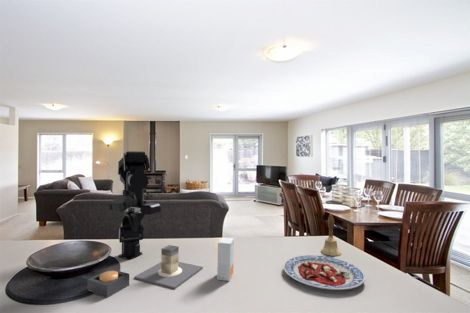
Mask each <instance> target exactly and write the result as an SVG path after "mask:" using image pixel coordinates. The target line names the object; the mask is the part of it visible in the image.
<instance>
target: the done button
mask: <svg viewBox="0 0 470 313" xmlns="http://www.w3.org/2000/svg"><path fill="white" fill-rule="evenodd" d="M103 272H104V273H103ZM103 272H101V273H102V274H101V273H100V274H101V275H100V281H102V282H106V283H109V282H111V281H113V280H115V279H117V278H118V272H116V271H108V272H105V271H103Z"/></svg>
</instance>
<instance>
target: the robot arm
mask: <svg viewBox="0 0 470 313" xmlns="http://www.w3.org/2000/svg"><path fill="white" fill-rule="evenodd" d="M150 168H151V165H150V158H149V157H148V155H147V154H146V152H145V151H139V150H138V151H135V150H133V151H131V150H130V151H129V150H127V151H125V152H124V153H123V156H122V158H121V159H120V160H119V161H118V164H117V175H118V176H119V180H120V182H121V183H122V185H123V192H122V195H121V196H119V197H117V198H115V199H113V200H111V202H110V203H109V210H110V211H113V212H120V213H121V214H122V215H123V214H124V217H122V218H123V219H122V220H121V224H120V226H119V229H118V241H119V242H118V243H120V244H121V253H120V254H118V256H117V257H119V258H123V259H128V260H132V259H134V258H136V257H139V256H140V255H143V251H142V252H141V243H140V241H142V240H143V239H145V238H144V237H145V236H144V234H145V227H144V226H143V224H142V221H143V219H144V217H145V215H153V214H156V213H161V212H162V211H161V210H162V207H161V204H160V203H154V202H149V203H147V200H144V198H145V196H144V195H145V194H144V193H147V189H146V188H147V186H148V184H149V178H148V176H147V175H146V174H145V172H149V170H150Z"/></svg>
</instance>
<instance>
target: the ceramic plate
mask: <svg viewBox="0 0 470 313" xmlns="http://www.w3.org/2000/svg"><path fill="white" fill-rule="evenodd" d="M283 263H284V264H283V270H284V272H285V273H286V274H287V276H289V277H290V278H291V279H293V280H295V281H297V282H299V283H300V284H304V285H306V286H310V287H313V288H319V289H324V290H334V291H342V290H351V289H355V288H357V287H360V286H362V285H363V284H364V282H365V278H366V277H365V274H364V272H363V271H362V270H361V269H360V268H358V267H356V266H355V265H353V264H351V263H349V262H347V261H345V260H342V259H338V258H334V257H331V256H324V255H315V254H313V255H310V254H308V255H307V254H306V255H298V256H294V257H291V258H288V259H287V260H286V261H285V262H283Z"/></svg>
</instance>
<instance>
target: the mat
mask: <svg viewBox="0 0 470 313" xmlns="http://www.w3.org/2000/svg"><path fill="white" fill-rule="evenodd" d="M203 268H204V267H203V266H202V265H201V266H200V265H195V264H191V263H186V262H181V261H178V271H176V272H174V273H173V274H171V275H170V274H166V273H161V261H160V262H158V263H157V264H154V265H153V266H151V267H149V268H147V269H145V270H143V271H142V272H140V273H138V274H136V275H134V276H133V278H134V279H135V280H137V281H143V282H147V283H149V284H154V285H156V286H157V285H158V286H162V287H166V288H170V289H173V290H176V289H177V288H179V287H180V286H181V285H183V284H184V283H185V282H186V281H188V280H190V278H192V277H193V276H195V275H196V274H198V273H199V272H200V271H201V270H202V269H203Z"/></svg>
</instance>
